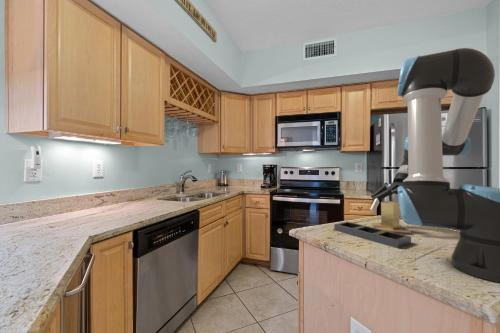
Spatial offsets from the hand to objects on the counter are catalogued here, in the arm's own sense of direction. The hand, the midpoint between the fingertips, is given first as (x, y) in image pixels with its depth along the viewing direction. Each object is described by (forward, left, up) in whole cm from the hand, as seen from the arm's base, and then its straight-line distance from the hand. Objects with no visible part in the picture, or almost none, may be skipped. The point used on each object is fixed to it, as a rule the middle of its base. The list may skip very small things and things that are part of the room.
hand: (387, 214), depth 101 cm
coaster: (+2, -2, -8) cm, 8 cm away
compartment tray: (-9, +9, -8) cm, 15 cm away
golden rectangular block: (+2, -2, -6) cm, 7 cm away
